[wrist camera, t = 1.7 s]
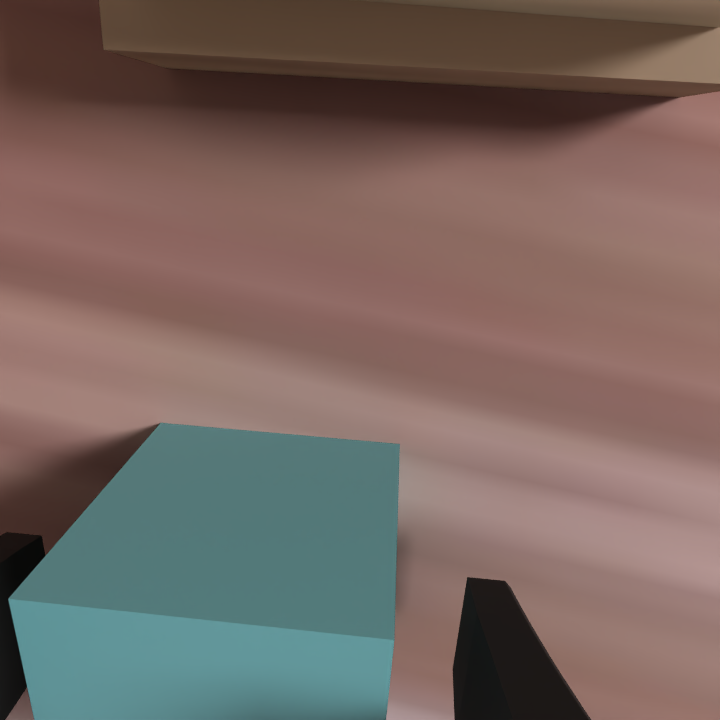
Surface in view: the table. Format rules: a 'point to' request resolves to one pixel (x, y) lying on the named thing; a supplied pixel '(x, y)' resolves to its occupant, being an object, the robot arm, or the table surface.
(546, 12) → the maple top block
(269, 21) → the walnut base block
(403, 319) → the table surface
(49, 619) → the teal block
